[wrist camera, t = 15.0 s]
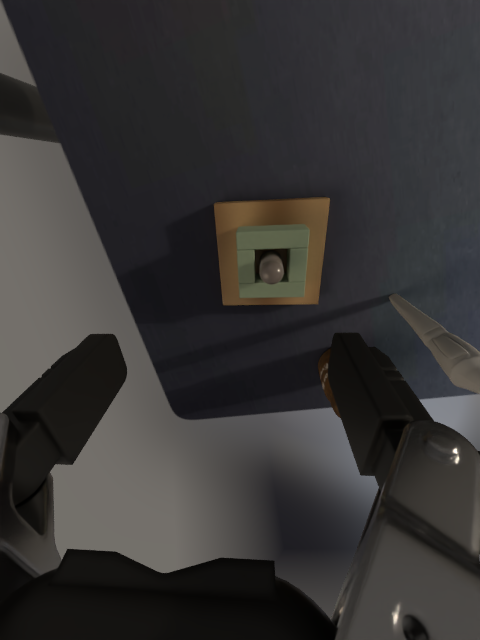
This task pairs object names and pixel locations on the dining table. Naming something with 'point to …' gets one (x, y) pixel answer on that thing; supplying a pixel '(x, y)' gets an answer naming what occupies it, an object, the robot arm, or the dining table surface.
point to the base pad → (270, 260)
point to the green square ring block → (272, 238)
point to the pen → (443, 346)
